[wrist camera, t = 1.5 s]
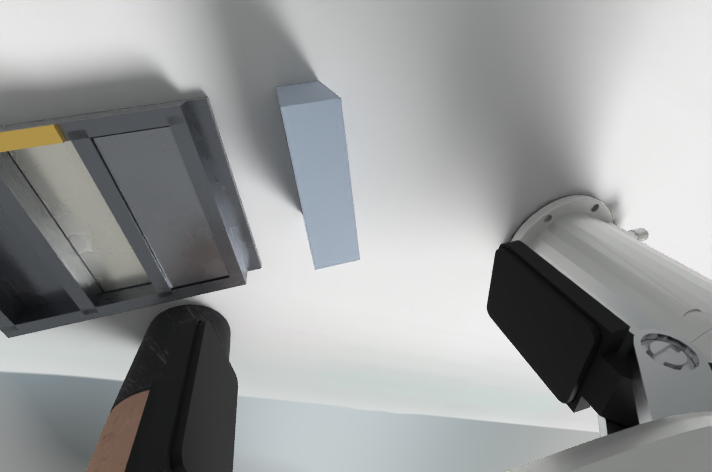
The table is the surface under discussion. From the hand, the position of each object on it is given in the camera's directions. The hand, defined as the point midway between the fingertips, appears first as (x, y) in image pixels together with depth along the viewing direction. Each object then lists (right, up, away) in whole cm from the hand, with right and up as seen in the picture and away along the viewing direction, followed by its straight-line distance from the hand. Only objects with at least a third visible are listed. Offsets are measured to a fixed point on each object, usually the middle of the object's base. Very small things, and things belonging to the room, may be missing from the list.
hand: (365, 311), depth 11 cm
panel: (-4, +9, +15) cm, 18 cm away
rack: (-19, +4, +13) cm, 24 cm away
